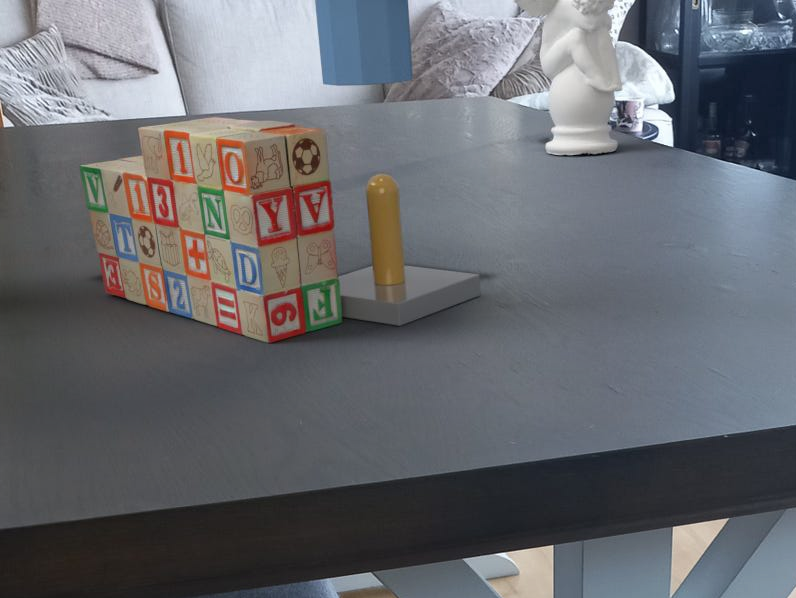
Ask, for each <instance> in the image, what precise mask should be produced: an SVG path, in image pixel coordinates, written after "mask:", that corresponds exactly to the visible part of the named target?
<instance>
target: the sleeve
mask: <svg viewBox="0 0 796 598" xmlns="http://www.w3.org/2000/svg"><path fill="white" fill-rule="evenodd" d="M314 5H315V14H316V26H317V35H318V47H319V57H320V66H321V77H322V84H323V85H328V86H336V87H337V86H340V87H341V86H342V87H343V86H345V87H346V86H372V85H374V86H375V85H388V84H396V83H403V82H408V81H409V82H410V81H411V80H412V79H413V77H414V72H413V58H412V57H413V56H412V40H411V26H410V25H411V24H410V10H409V8H410V7H409V0H314Z"/></svg>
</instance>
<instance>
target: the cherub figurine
mask: <svg viewBox="0 0 796 598" xmlns="http://www.w3.org/2000/svg"><path fill="white" fill-rule="evenodd" d="M615 2H616V0H513V3H514V4H516V6H517V7H518V8H520V10H523V11H524V12H526V14H527V15H528V17H529V16H530V17H531V16H532V17H533V18H537V17H541V16H542V17H543V16H544V17H545V18H544V21H543V26H542V33H541V45H540V50H539V62H540V66H541V70H542V73H543V74H544V76H545V77H546V78H548V79H549V80H552V81H551V84H550V87H549V91H548V94H547V95H548V96H547V107H548V112H549V114H550V118H551V120H552V122H553V124H554V125H555V126H553V127H551V129H550V132H551V134H552V135H553V139H552V140H550V141H548V142H546V143H545V151H546V154H550V155H554V156H555V155H556V156H563V155H567V156H573V155H582V154H584V155H585V154H587V155H590V154H592V155H597V154H602V153H605V154H606V153H612V152H614V151H617V148H618V146H619V143H618V141H617V140H616V139H613V138H611V136H610V132H611V131H612V129H613V128H612V126H611V124H608V123H609V122H610V119H611V117H612V115H613V111H614V108H615V103H616V101H615V100H616V99H615V98H616V97H615V92H621V91H623V84H622V82H621V75H620V72H619V69H620V68H619V62H618V56H617V53H616V49H615V47H614V44H613V40H612V36H611V33H610V31H611V30H612V29H613V18H612V16H611V15H610V13H609V11H610V10H613V9H614V6H615Z"/></svg>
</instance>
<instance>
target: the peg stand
mask: <svg viewBox="0 0 796 598" xmlns="http://www.w3.org/2000/svg"><path fill="white" fill-rule="evenodd" d="M365 194H366V207H367V220H368V230H369V240H370V255H371V264H372V265H371V266H367V267H363V268H361V269H358V270H354V271H352V272H349V273H345V274H342V275H340V276H337V277H338V278H339V282H340V294H341V309H342V318H347V319H353V320H360V321H366V322H372V323H378V324H385V325H392V326H397V327H401V326H404V325H407V324H409V323H411V322H414V321H417V320H419V319H422V318H425V317H427V316H430V315H433V314H435V313H438V312H440V311H443V310H446V309H448V308H451V307H454V306H457V305H459V304H461V303H464V302H467V301H469V300H472V299H475V298H478V297H480V296H481V278H480V274H478V273H470V272H462V271H461V272H460V271H454V270H445V269H437V268H430V267H422V266H412V265H405V256H404V242H403V228H402V227H403V226H402V215H401V203H400V201H401V200H400V189H399V185H398V183H397V181H396V180H395V179H394V178H393V176H391V175H390V174H386V173H378V174H376V175H373V176H371V178H370V179H369V180H368V181H367V184H366V187H365Z"/></svg>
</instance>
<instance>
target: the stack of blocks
mask: <svg viewBox="0 0 796 598" xmlns="http://www.w3.org/2000/svg"><path fill="white" fill-rule="evenodd" d="M138 137H139V143H140V151H141V155H137V156H130V157H123V158H117V159H116V160H115V159H114V160H107V161H101V162H94V163H88V164H83V165H82V164H81V165H79V174H80V177H81V183H82V189H83V194H84V199H85V203H86V208H87V209H88V211H89V216H90V222H91V227H92V232H93V238H94V242H95V247H96V252H98V258H99V264H100V271H101V276H102V280H103V286H104V289H105V290H104V291H105V293H106V294H110V295H114V296H117V297H120V298H124V299H126V300H128V301H131V302H134V303H137V304H140V305H145V306H148V307H150V308H153V309H157V310H160V311H164V312H167V313H172V314H174V315H178V316H181V317H185V318H188V319H192V320H195V321H199V322H202V323H204V324H208V325H211V326H215V327H218V328H220V329H223V330H226V331H229V332H232V333H235V334H238V335H243V336H244V337H247V338H250V339H254V340H256V341H259V342H263V343H268V344H270V343H275V342H279V341H282V340H287V339H289V338H293V337H296V336H300V335H303V334H306V333H309V332H313V331H317V330H321V329H325V328H328V327H331V326H337V325H339V324H342V323H343V317H342V309H341V294H340V282H339V278H338V277H339V276H338V260H337V247H336V237H335V212H334V203H333V201H334V200H333V199H334V198H333V195H332V194H333V190H332V189H333V188H332V182H331V176H330V162H329V150H328V136H327V129H323V128H314V127H313V128H312V127H306V126H297V125H296V124H295V123H294V122H288V121H287V122H286V121H277V120H268V119H267V120H250V119H237V118H228V117H218V116H213V117H205V118H198V119H191V120H184V121H178V122H170V123H165V124H164V123H163V124H157V125H148V126H140V127H138Z"/></svg>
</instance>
